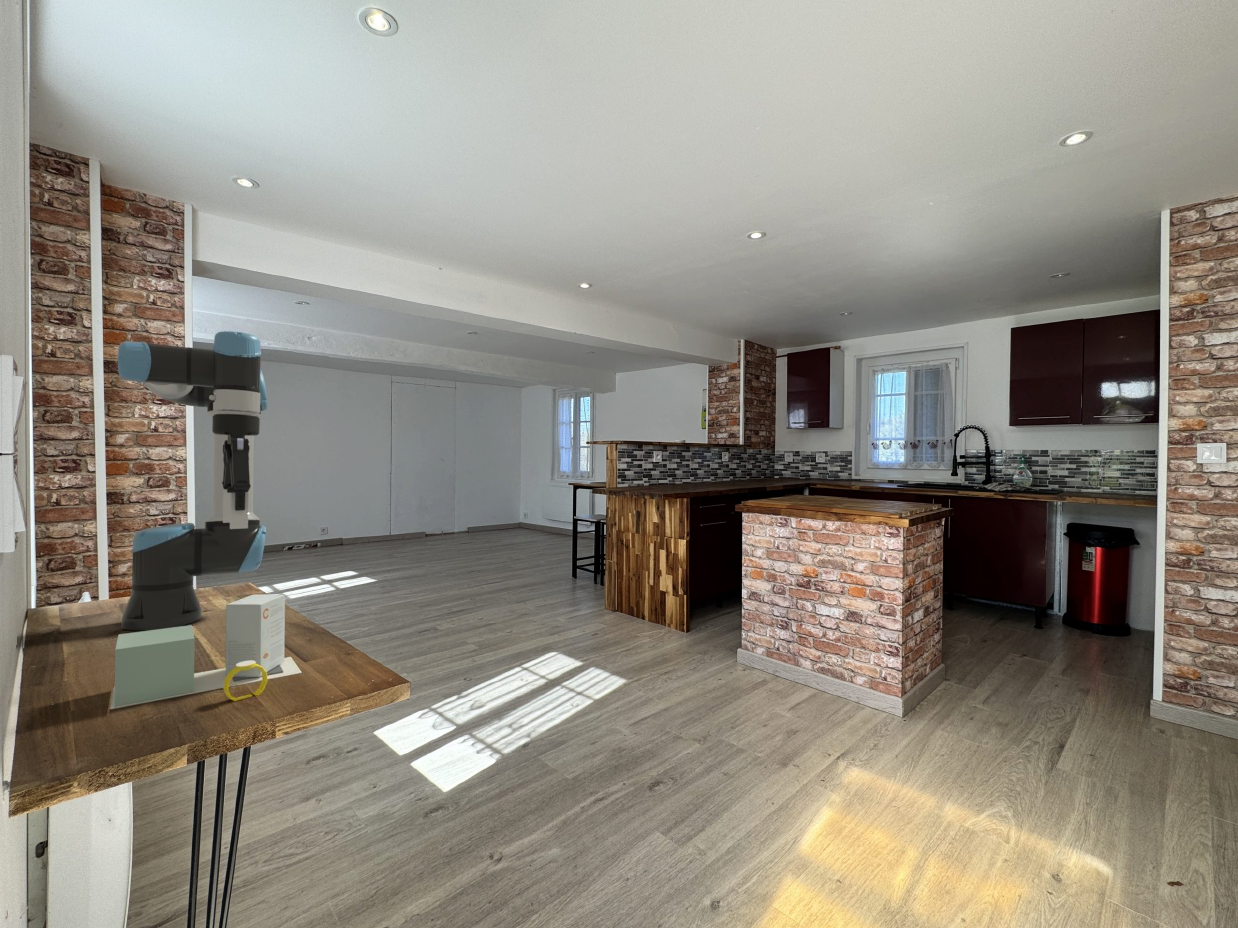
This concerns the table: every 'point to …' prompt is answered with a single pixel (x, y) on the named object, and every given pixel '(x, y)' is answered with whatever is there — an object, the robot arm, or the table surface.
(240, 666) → the watch
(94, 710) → the table surface
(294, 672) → the base
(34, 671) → the table surface
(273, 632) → the small box
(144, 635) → the block
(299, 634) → the table surface
